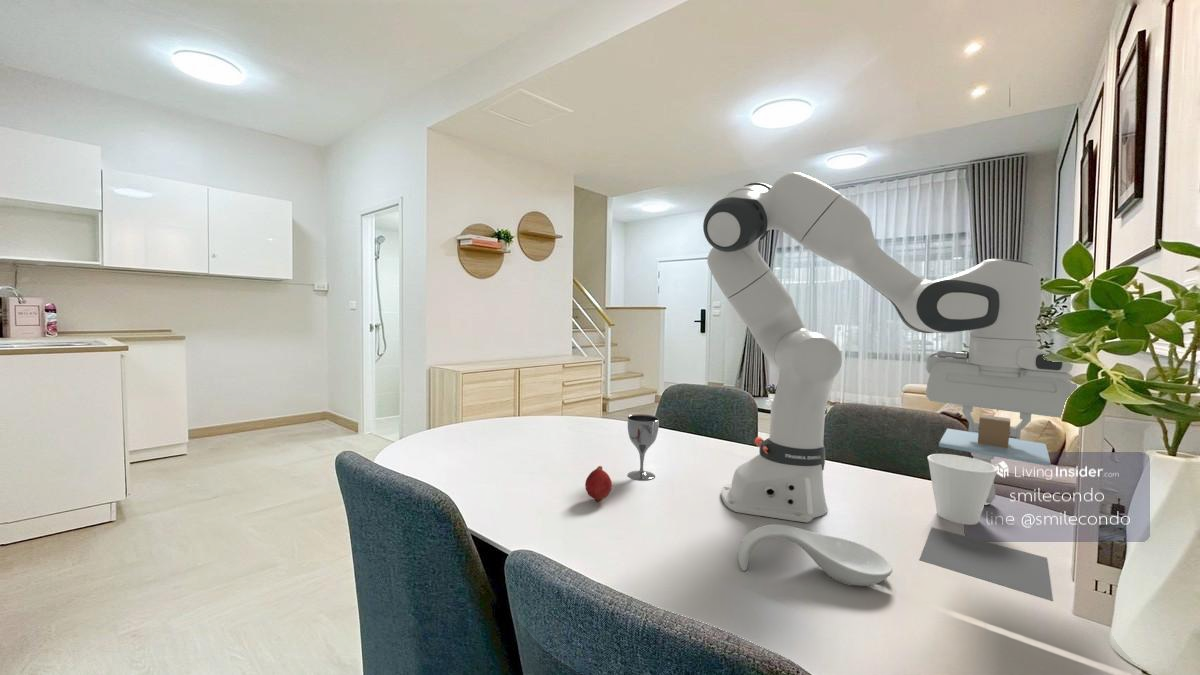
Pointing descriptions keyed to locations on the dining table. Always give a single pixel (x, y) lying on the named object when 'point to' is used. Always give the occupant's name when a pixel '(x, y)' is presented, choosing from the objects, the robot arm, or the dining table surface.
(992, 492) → the salt shaker
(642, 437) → the wine glass
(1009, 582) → the sheet mat
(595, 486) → the onion
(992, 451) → the cover sheet
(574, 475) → the dining table surface
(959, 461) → the cup
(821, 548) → the spoon rest
